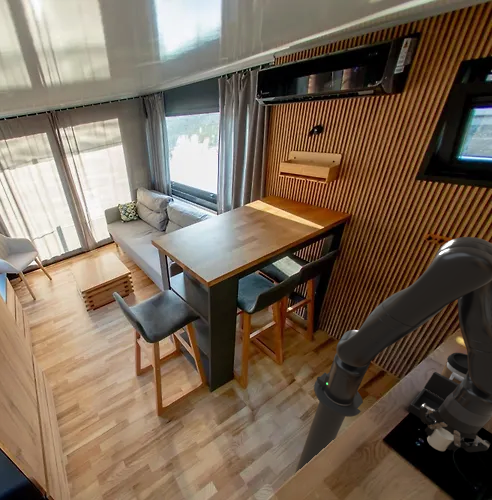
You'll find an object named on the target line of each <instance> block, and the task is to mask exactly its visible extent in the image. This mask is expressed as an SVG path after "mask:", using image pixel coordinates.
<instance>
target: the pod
mask: <svg viewBox="0 0 492 500" xmlns="http://www.w3.org/2000/svg"><path fill="white" fill-rule="evenodd" d="M426 440H427V443H428V444H429V446H431V447H432V448H433V449H435V450H437V451H439V452H445V451H446V450H448V449H447V448H448V446H449V445H450V444H451V443H452V442H453V441H454V435H453V434H451V433H450V432H449V431H447V430H445V429H443V428H439V429H434V431H433V432H432V433H431V435H430V436H428V435H427V437H426Z"/></svg>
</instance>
